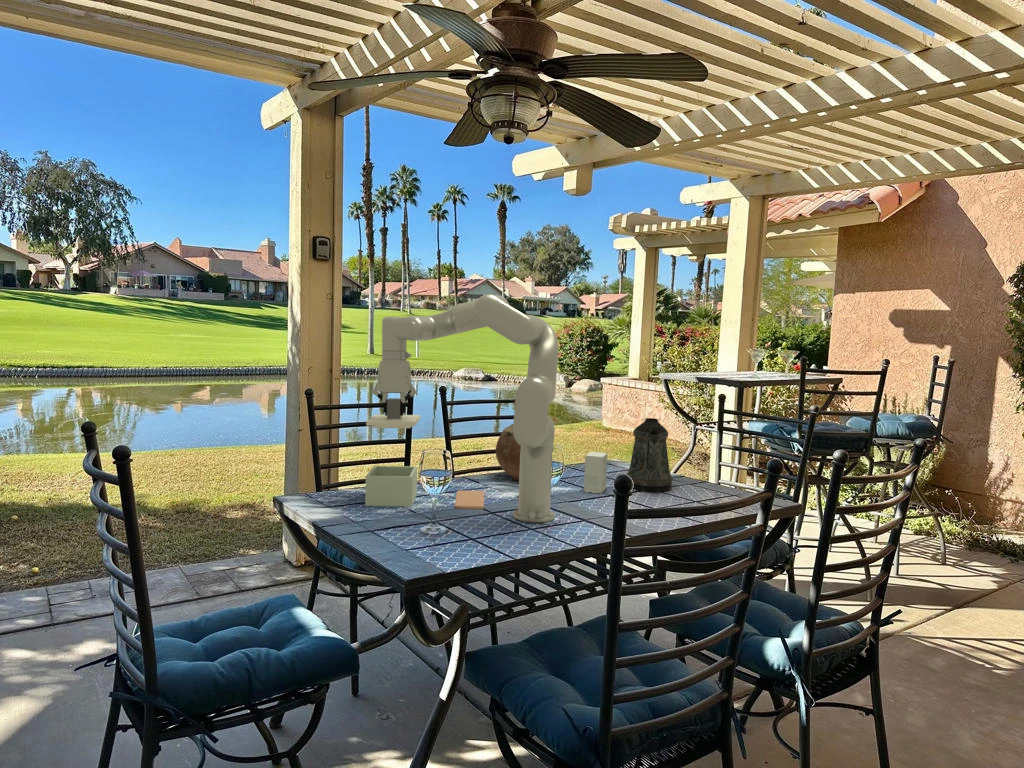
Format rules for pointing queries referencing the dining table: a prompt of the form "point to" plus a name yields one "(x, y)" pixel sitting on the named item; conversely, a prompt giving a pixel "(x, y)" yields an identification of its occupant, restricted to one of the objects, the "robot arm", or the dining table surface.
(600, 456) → the small box
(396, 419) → the lid
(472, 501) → the tile
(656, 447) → the beer stein
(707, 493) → the dining table surface
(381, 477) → the storage tub
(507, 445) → the jug
